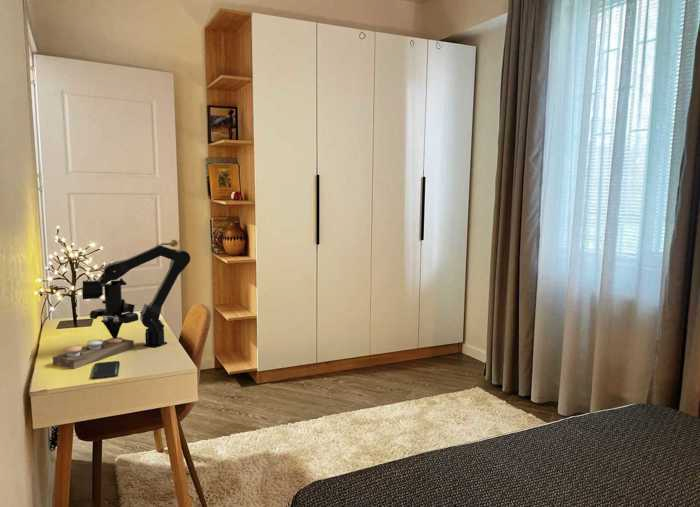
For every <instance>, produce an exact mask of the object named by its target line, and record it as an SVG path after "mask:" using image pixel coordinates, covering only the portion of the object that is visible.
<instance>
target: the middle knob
mask: <svg viewBox="0 0 700 507" xmlns="http://www.w3.org/2000/svg"><path fill="white" fill-rule="evenodd" d="M103 341H104V340H103V339H100V338H99V339H98V338H96V339H90V340H88V341H86V346H89V350H94V351H95V350H98V349H101V344H103Z"/></svg>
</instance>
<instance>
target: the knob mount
mask: <svg viewBox="0 0 700 507" xmlns="http://www.w3.org/2000/svg"><path fill="white" fill-rule="evenodd" d="M108 339H109V338H108ZM108 339H105V340H103V344H101V349H98V350H95V351H94V350H89V346H88V345H86V346H85V345H84V346H81V347H82V350H81V351H80V355H79V356H76V357H73V358H71V357H67V353H65V352H63V353H62V352H61V353H59V354H56V355H53V356H52V365H53V366H58V367H63V368H68V369H72V370H73V369H74V370H75V369H78V368H81V367H84V366H86V365H90V364H93V363H95V362H96V363H97V362H98V361H101V360H105V359H107V358H110V357H112V356H116V355H119V354H121V353H124V352H127V351H129V350H133V349H134V347H135V346H134V345H135V344H134V342H135V341H134V340H132V339H125V338H123V341H122V342H121V343H117V344H110V343H108V341H107V340H108Z"/></svg>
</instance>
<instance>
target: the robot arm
mask: <svg viewBox="0 0 700 507" xmlns="http://www.w3.org/2000/svg"><path fill="white" fill-rule="evenodd" d="M159 257H162V258H163V257H164V258H166V259H169V260H170V262H169V266H168V269H167V272H166V274H165V276H164V278H163V279H162V281H161V283H160V286H159V288H158V289H157V291H156V293H155V295H154V297H153V298H152V301H151V302H149V304H146V303H144V305H143V308H142V310H141V311H139V314H140V316H139V314H138V313H137V312H134V311H135V306H136V304H132V303H127V302H126V301H125V298H122V296H123V295H122V286H126V285H127V284H128V283H127V282H126V281H125V280H124V279H123V278H122V277H123V276H125V274H127V273H128V272H129V271H131V270H132V269H133V270H134V268H137V267H140V266H142V265H144V264H146V263H148V262H150V261H152V260H155V259H157V258H159ZM190 262H191V256H190V253H188V252H187V251H185V250H184V249H177V250H175V249H173V248H170V247H166V246H164V245H162V244H156V245H155V246H154V247H151V248H150V249H149V248H148V249H147V250H144V251H143V252H140V253H138V254H135V255H133V256H130V257H129V258H126V259H122V260H119V261H113V262H109V263H107V264H106V265H104V267H103V273H102V274H101V275H100V277H99V278H98V280H82V289H81V294H82V295H81V296H82V300H96V299H100V297H102V296H104V300H102V301H101V303H102V304H103V305H105V306H104V308H99V309H93V310H91V312H90V313H89V319H91V320H97V319H98V318H99V317H102V320H101V321H100V322H101V323H103V325H104V326H105V327H106V329H107V331H108V332H109V334H110V336H111V338H114V339H115V338H117V337H118V336H119V332H120V330H121V328H122V325H123V324H130V323H133V322H137V321H139V319H140V321H141V324H142V325H143V326H144V327H145V334H144V336H145V343H144V344H143V345H142V346H143V347H144V346H145V347H152V348H158V347H161V346H163V345H166V344H167V345H168V342H167V341H165V325H164V323H163V322H162V321H161V320H160V316H161V311H162V307H163V305H164V303H165V302H166V299H167V297H168V295H169V294H170V292H171V290H172V288H173V286H174V284H175V283H176V280H177V279H178V277H179V275H180V274H181V273H182V272H183V271H184V270H185V269H186V267H187V266H188V265H189V264H190ZM103 287H104V288H103ZM103 289H104V291H103ZM139 317H140V318H139Z"/></svg>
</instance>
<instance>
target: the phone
mask: <svg viewBox="0 0 700 507" xmlns="http://www.w3.org/2000/svg"><path fill="white" fill-rule="evenodd" d="M120 365H121V364H120V360H119V361H118V360H113V361H104V362H96V363H94V365H93V368H92V369H93V370H92V373H91V378H90V379H91V380H101V379H110V378H117V377H118V376H119V371H120Z"/></svg>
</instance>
